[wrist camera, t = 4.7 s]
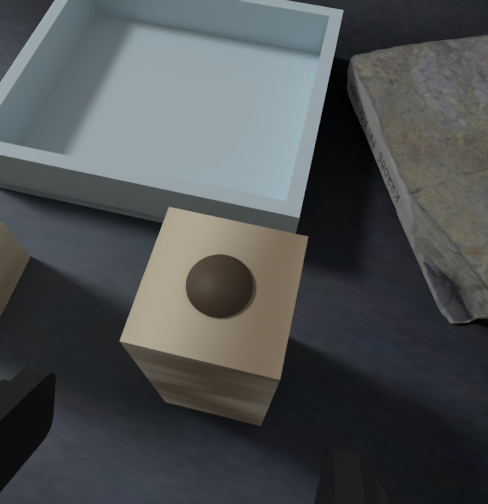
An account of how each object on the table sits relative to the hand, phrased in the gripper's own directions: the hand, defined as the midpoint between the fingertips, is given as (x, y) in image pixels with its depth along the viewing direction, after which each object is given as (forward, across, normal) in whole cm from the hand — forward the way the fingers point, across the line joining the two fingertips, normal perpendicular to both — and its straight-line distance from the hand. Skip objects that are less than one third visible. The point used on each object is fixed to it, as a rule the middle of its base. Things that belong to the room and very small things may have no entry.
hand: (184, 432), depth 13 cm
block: (+9, 0, +3) cm, 10 cm away
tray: (+20, +7, -7) cm, 22 cm away
